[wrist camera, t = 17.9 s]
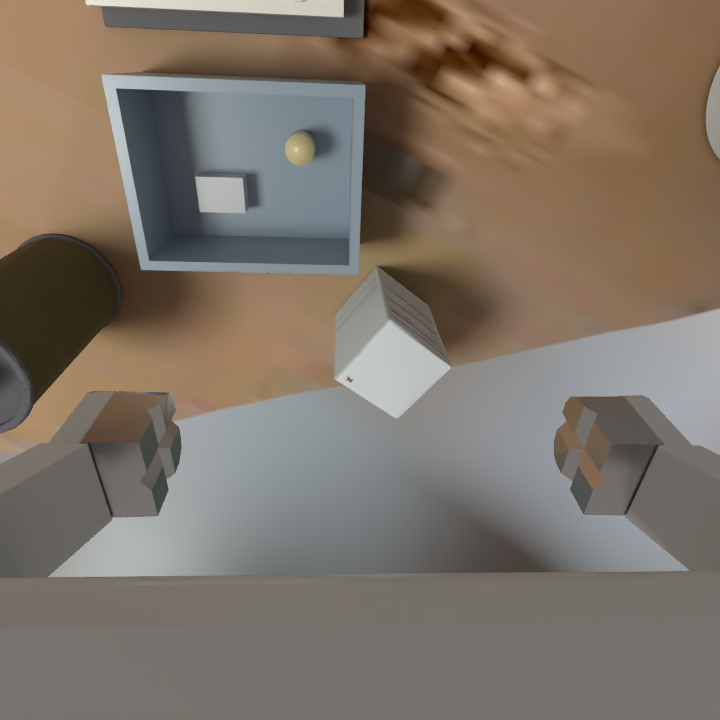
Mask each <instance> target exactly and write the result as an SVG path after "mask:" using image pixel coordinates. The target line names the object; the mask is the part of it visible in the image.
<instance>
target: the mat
mask: <svg viewBox="0 0 720 720" xmlns="http://www.w3.org/2000/svg"><path fill="white" fill-rule="evenodd" d="M102 13H103V18H104V23H105V26H107V27H126V28H147V29H169V30H191V31H213V32H235V33H257V34H279V35H301V36H322V37H344V38H363V25H364V0H344V18H324V17H303V16H282V15H262V14H241V13H220V12H199V11H178V10H157V9H136V8H116V7H102Z"/></svg>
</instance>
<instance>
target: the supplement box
mask: <svg viewBox="0 0 720 720" xmlns="http://www.w3.org/2000/svg"><path fill="white" fill-rule="evenodd" d="M449 369H451V364H450V361H449V359H448V356H447V353H446V351H445V348H444V345H443V343H442V340H441V338H440V335H439V332H438V330H437V327H436V324H435V322H434V319H433V316H432V313H431V311H430V308H429V306H428V305H427V304H426V303H425V302H423V301H422V300H421V299H419V298H418V297H417V296H415V295H414V294H413V293H412V292H410V291H409V290H408V289H406V288H405V287H404V286H403V285H401V284H400V283H399V282H397V281H396V280H395V279H394V278H392V277H391V276H390V275H389V274H387V273H386V272H385V271H383V270H382V269H381V268H380V267H378V266H377V267H376V268H375V269H374V270H373V271H372V272H371V273H370V275H369V276H368V277H367V278H366V279H365V280H364V281H363V283H362V284H361V285H360V286H359V287H358V288H357V290H356V291H355V292H354V293H353V294H352V295H351V297H350V298H349V299H348V300H347V301H346V302H345V304H344V305H343V306H342V307H341V308H340V309H339V311H338V312H337V313H336V314H335V380H336V381H338V382H340V383H341V384H343V385H345V386H346V387H348V388H350V389H351V390H352V391H354V392H356V393H357V394H359V395H360V396H362V397H363V398H365V399H367V400H368V401H370V402H371V403H373V404H374V405H376V406H377V407H379V408H380V409H382V410H384V411H385V412H387V413H388V414H390V415H391V416H393V417H395V418H399V417H400V416H401V415H402V414H403V413H404V412H405V411H406V410H407V409H408V408H409V407H410V406H412V405H413V404H414V403H415V402H416V401H417V400H418V399H419V398H420V397H421V396H422V395H423V394H424V393H425V392H426V391H427V390H428V389H429V388H430V387H431V386H433V385H434V383H436V382H437V381H438V380H439V379H440V378H441V377H442V376H443V375H444V374H445V373H446V372H447V371H448V370H449Z"/></svg>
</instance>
